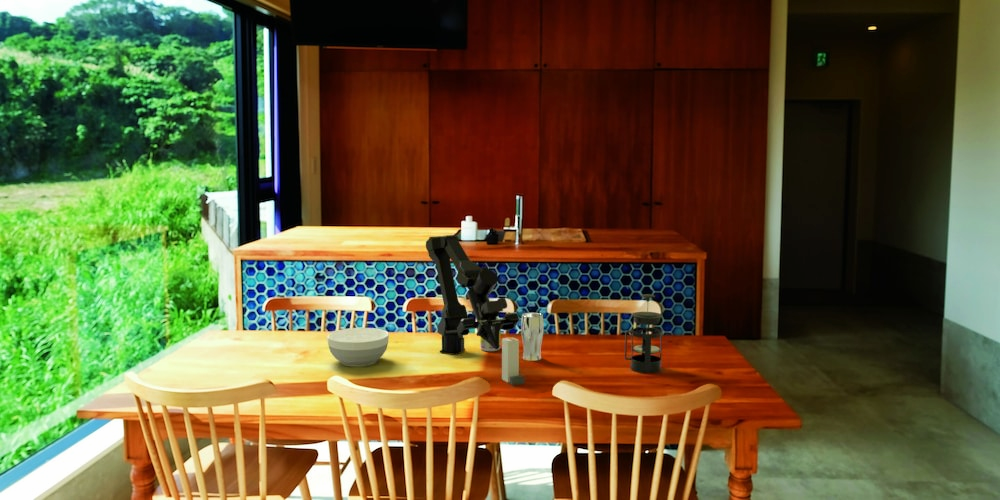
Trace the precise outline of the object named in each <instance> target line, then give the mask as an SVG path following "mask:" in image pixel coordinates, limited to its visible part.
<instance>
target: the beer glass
mask: <svg viewBox="0 0 1000 500" xmlns="http://www.w3.org/2000/svg"><path fill="white" fill-rule="evenodd" d="M543 316H544V315H543V314H542V313H540V312H525V313H522V314H521V319H520V321H521V323H520V333H521V340H522V346H523V354H522V359H523V360H525V361H534V362H535V361H540V360H541V359H542V354H541V349H542V342H543V336H544V317H543Z"/></svg>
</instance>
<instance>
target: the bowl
mask: <svg viewBox="0 0 1000 500" xmlns="http://www.w3.org/2000/svg"><path fill="white" fill-rule="evenodd" d="M389 334H390V333H389V332H388V331H386V330H385V329H381V328H376V327H375V328H374V327H350V328H343V329H338V330H335V331H332V332H330V333H329V334H327V337H326V338H327V345H328V349H329V351H330V353H331V354H332V356H333V357H334V358H335V360H337V361H338V362H340V363H341V364H342V365H343V366H347V367H353V368H354V367H356V368H357V367H367V365H368V366H372V365H374V364H376V363H377V361H378V360H379V359H380V358H382V357H383V355H384V354H385V352H386V351H387V348H388V344H389V338H390V337H389V336H390V335H389Z"/></svg>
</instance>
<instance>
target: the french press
mask: <svg viewBox="0 0 1000 500" xmlns="http://www.w3.org/2000/svg"><path fill="white" fill-rule="evenodd" d="M640 297H641V298H645V299H646V301H645V302H647V303H646V311H637V312H632V317H633V322H634V323H635V324H639V325H644V326H641V327H640V326H639V327H634V328H632V329H630V330H625V332H624V333H625V335H624V340H625V341H624V358H625V360H626V361H630V367H629V368H630V370H631V371H633V372H636V373H640V374H655V373H660V372H661V371H662V343H663V342H662V339H663V331H662V329H660V328H656V327H649V326H652V325H653V326H654V325H658V324H659V323H660V321H661V318H663V314H661V313H659V312H653V311H649V302H650V299H652V298H655V297H656V296H655V295H654V294H650V293H646V294H641V295H640ZM641 332H642V333H641ZM649 332H650V333H649ZM628 333H631V349H630V350H631V356H630V357H627V352H628V351H627V350H628V349H627V344H628ZM634 337H635V338H641V340H642V341H641V344H639V345H634ZM652 339H660V340H659V341H660V343H659V344H660V345H659V347H658V346H656V345H652ZM633 345H634V346H633ZM633 352H635V353H636V354H634V353H633ZM658 353H659V356H657V355H653V354H658ZM633 354H634V355H633Z"/></svg>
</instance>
